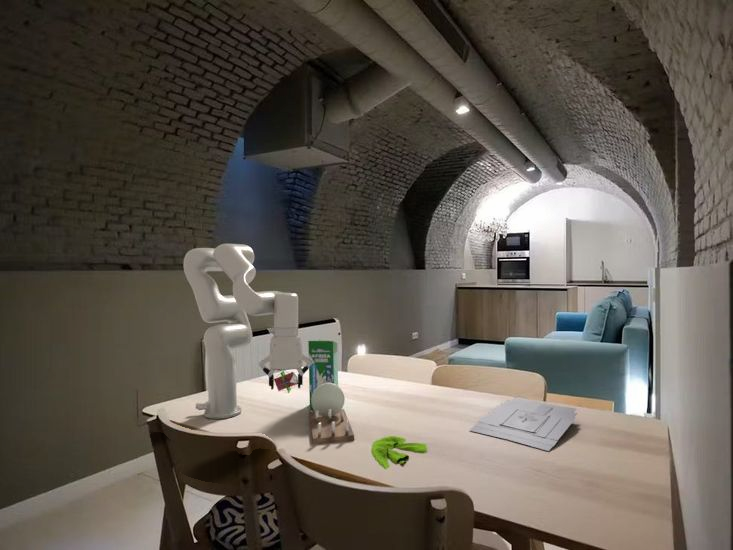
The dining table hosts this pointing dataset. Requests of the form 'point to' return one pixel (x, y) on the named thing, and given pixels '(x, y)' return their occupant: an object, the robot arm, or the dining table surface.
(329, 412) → the rack tines
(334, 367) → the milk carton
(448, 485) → the dining table surface
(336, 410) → the sage plate
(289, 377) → the geometric puzzle
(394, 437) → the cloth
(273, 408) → the dining table surface
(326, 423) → the dish rack
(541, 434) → the papers
